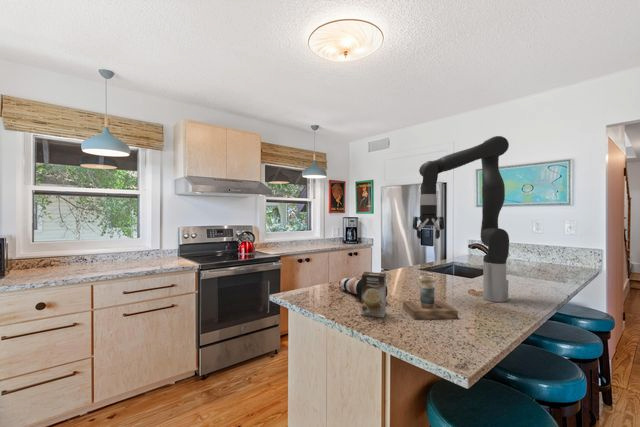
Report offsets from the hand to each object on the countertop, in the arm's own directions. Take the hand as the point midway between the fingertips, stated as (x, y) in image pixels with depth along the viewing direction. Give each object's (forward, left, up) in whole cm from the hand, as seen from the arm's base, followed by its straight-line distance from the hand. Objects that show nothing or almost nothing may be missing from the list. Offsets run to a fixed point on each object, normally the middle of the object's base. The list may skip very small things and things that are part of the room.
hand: (428, 238), depth 141 cm
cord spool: (+9, +19, -28) cm, 35 cm away
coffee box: (+31, +20, -28) cm, 46 cm away
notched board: (+9, +20, -28) cm, 36 cm away
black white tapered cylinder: (+32, -7, -29) cm, 44 cm away
